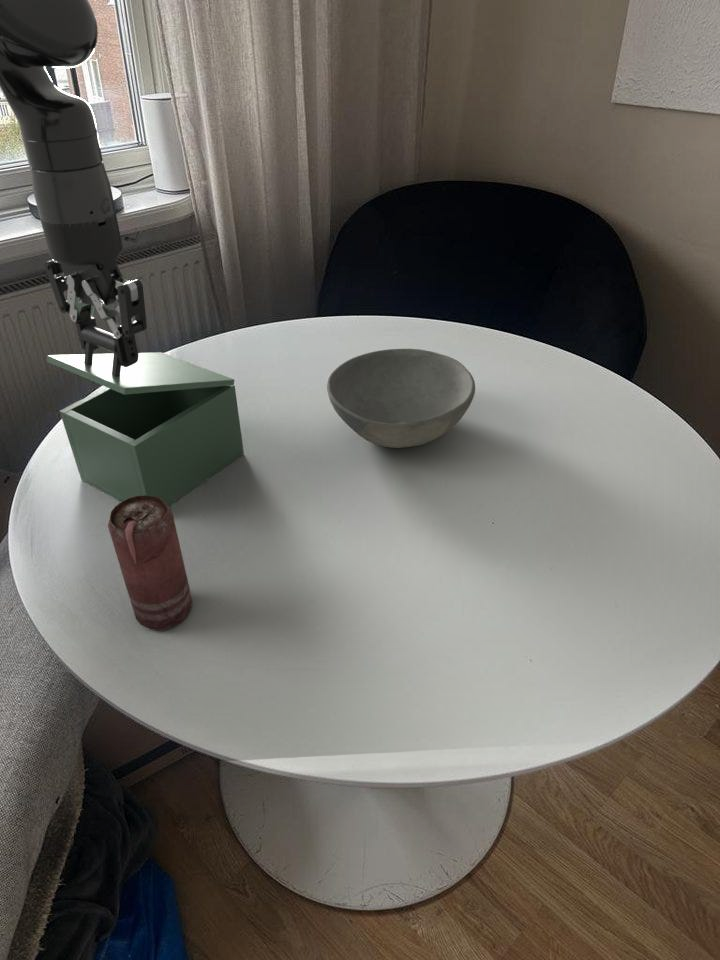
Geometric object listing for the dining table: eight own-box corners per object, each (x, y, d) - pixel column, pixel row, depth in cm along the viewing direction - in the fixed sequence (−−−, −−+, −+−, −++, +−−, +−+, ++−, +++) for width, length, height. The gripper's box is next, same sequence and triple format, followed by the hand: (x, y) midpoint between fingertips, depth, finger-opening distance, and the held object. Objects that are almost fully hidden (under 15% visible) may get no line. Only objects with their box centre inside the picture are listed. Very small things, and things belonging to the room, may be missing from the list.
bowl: (483, 468, 96) (489, 418, 91) (330, 474, 95) (327, 424, 91) (458, 389, 113) (462, 344, 108) (327, 394, 112) (325, 349, 107)
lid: (124, 395, 78) (129, 346, 76) (46, 361, 84) (49, 316, 83) (234, 385, 93) (240, 344, 91) (160, 357, 99) (164, 319, 97)
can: (130, 636, 73) (99, 536, 65) (140, 592, 78) (112, 494, 70) (189, 632, 74) (166, 532, 65) (195, 588, 79) (174, 490, 70)
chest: (152, 518, 88) (134, 446, 82) (81, 480, 95) (59, 410, 88) (244, 453, 100) (234, 385, 93) (174, 423, 106) (161, 357, 99)
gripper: (4, 207, 74) (45, 352, 84) (92, 231, 68) (126, 386, 77) (64, 191, 79) (97, 330, 89) (152, 213, 72) (176, 361, 82)
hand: (110, 356), depth 83 cm, fingers closed on lid, 6 cm apart
